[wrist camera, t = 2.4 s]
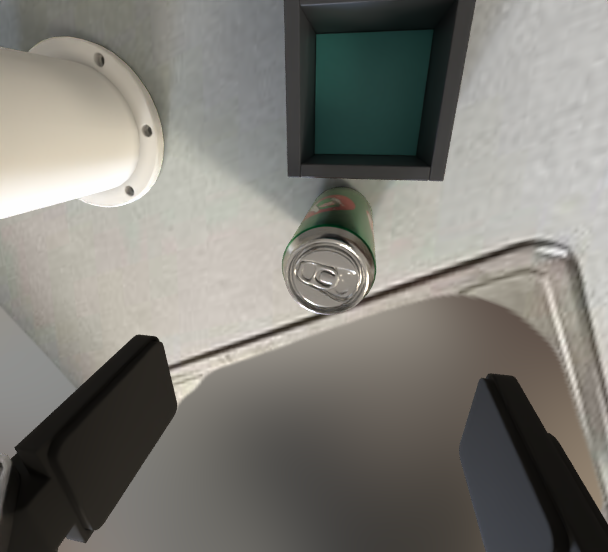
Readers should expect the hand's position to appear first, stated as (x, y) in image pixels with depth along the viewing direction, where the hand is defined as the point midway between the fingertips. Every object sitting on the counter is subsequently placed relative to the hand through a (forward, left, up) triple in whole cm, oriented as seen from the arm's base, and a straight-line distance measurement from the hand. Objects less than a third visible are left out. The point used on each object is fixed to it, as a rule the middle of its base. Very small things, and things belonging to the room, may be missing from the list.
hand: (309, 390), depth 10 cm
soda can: (0, 0, -20) cm, 20 cm away
